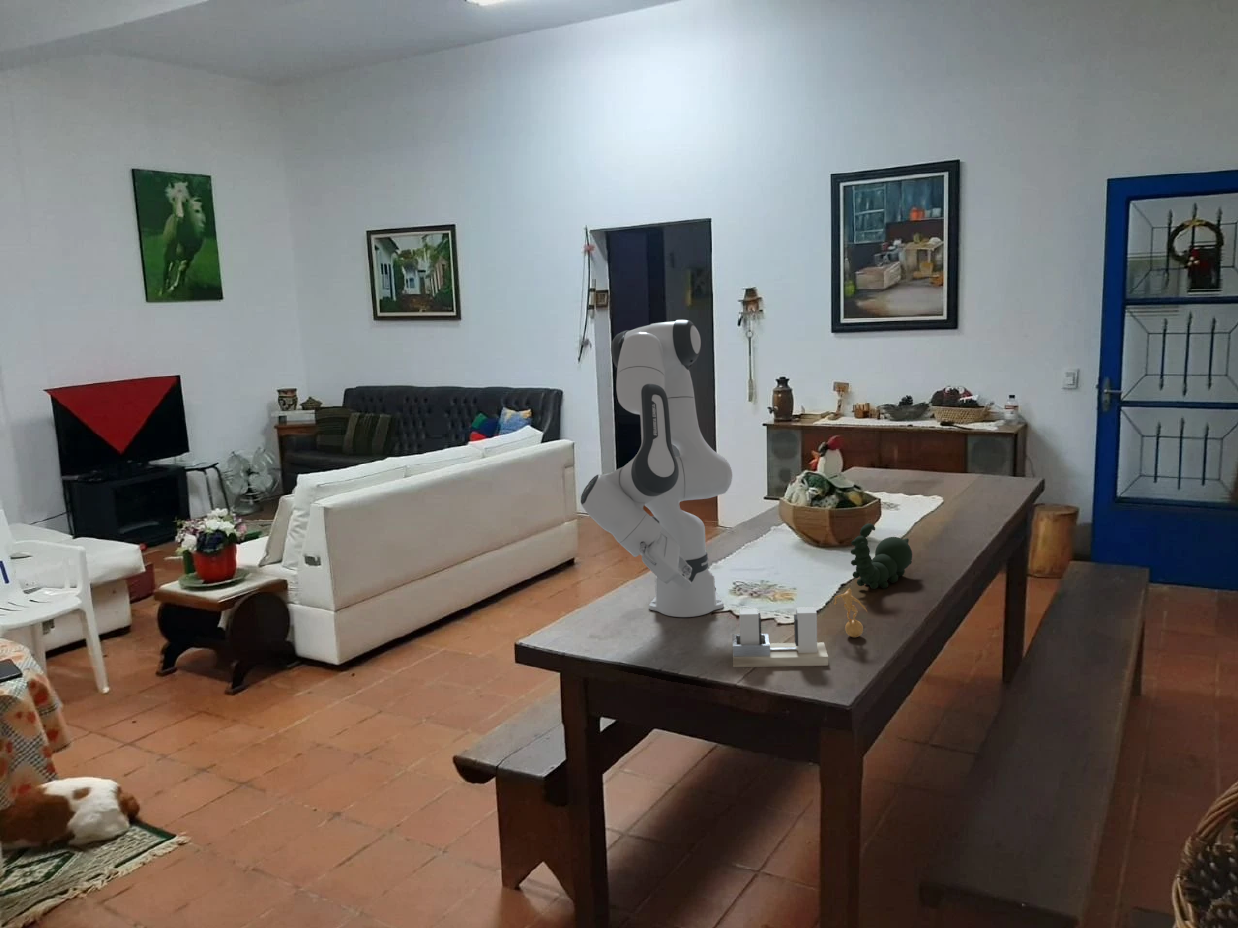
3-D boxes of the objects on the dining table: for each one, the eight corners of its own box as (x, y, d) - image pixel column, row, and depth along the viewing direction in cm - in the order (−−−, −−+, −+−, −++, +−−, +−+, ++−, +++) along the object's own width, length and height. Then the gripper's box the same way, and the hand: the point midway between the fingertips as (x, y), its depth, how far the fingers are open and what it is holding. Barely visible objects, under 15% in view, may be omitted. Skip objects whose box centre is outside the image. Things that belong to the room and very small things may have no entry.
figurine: (875, 638, 217) (874, 587, 215) (861, 646, 213) (860, 594, 211) (842, 630, 223) (842, 580, 221) (828, 638, 219) (827, 587, 216)
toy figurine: (876, 604, 243) (925, 570, 260) (872, 533, 238) (922, 504, 255) (844, 596, 250) (893, 564, 266) (839, 528, 245) (890, 499, 261)
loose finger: (740, 647, 211) (739, 608, 210) (761, 647, 211) (760, 608, 209) (740, 653, 208) (739, 614, 206) (762, 653, 207) (760, 613, 206)
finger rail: (732, 652, 214) (730, 605, 212) (823, 650, 212) (823, 603, 210) (733, 666, 206) (731, 618, 204) (828, 665, 204) (827, 616, 202)
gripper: (649, 540, 196) (699, 585, 197) (654, 514, 215) (700, 555, 217) (629, 561, 197) (678, 606, 198) (635, 533, 217) (680, 574, 218)
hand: (689, 579), depth 207 cm, fingers open, 8 cm apart
